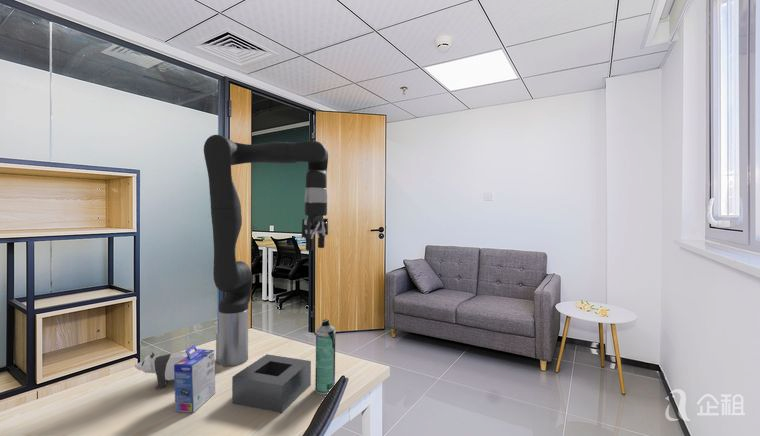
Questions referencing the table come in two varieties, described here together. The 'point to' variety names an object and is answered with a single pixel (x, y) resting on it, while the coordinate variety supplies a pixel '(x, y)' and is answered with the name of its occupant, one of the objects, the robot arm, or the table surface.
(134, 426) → the table surface
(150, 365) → the giant panda
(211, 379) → the ink cartridge box
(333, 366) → the spray can
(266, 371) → the square collar
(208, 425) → the table surface
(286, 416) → the table surface
